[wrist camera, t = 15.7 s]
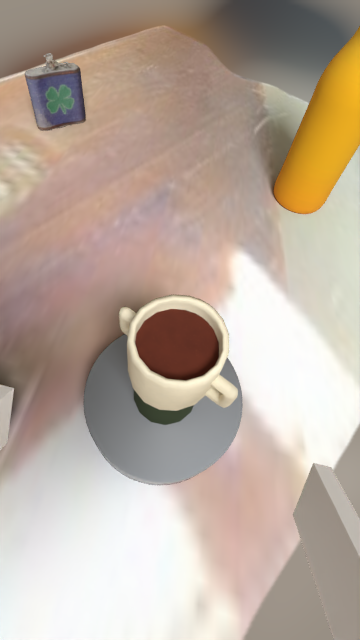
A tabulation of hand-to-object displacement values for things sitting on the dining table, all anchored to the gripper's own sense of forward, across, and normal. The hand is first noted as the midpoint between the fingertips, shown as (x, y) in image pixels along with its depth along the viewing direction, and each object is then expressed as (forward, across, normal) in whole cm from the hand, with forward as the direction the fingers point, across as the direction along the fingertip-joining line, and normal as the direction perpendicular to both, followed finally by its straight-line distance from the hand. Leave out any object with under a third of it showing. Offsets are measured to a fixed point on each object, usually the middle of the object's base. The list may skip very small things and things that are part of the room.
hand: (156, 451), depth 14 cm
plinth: (+22, 0, -10) cm, 24 cm away
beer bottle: (+52, +14, +20) cm, 57 cm away
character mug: (+18, 0, -7) cm, 20 cm away
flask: (+56, -31, +23) cm, 68 cm away
